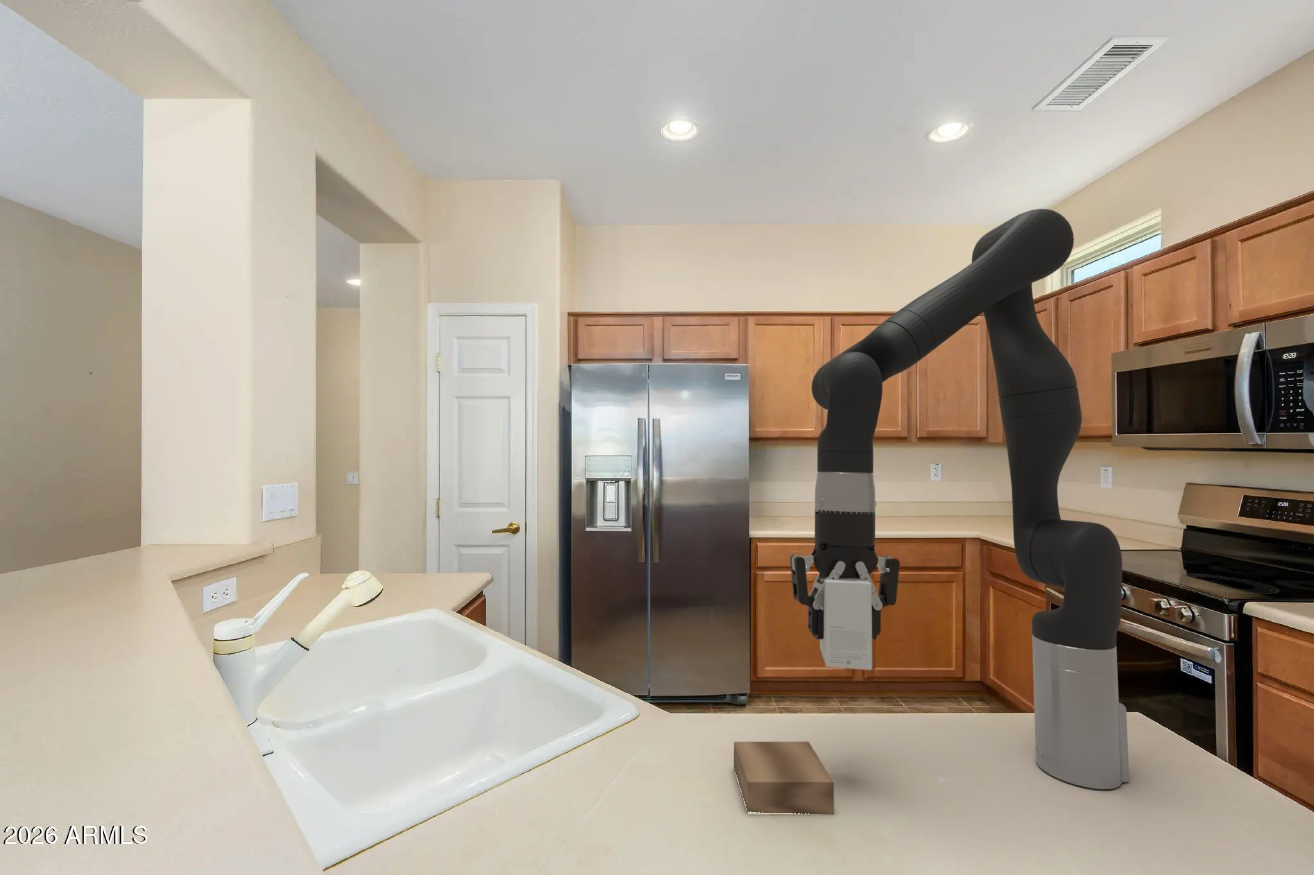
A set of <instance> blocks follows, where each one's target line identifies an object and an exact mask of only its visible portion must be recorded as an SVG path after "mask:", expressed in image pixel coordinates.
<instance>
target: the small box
mask: <svg viewBox="0 0 1314 875" xmlns="http://www.w3.org/2000/svg"><path fill="white" fill-rule="evenodd" d="M823 583H825V587H824V604H823V605H822V607H821V609H822V610H823V611H824V621H823V639H819V649H820V652H821V655H822V658H823V661H824V665H825V668H838V669H839V668H840V669H852V670H863V671H864V670H865V671H872V670H873V640H872V584H871V583H870V582H869V581H868V580H866V579H865V580H863V579H859V578H839V579H834V580H826V579H825V578H823Z"/></svg>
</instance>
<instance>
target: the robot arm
mask: <svg viewBox="0 0 1314 875" xmlns="http://www.w3.org/2000/svg"><path fill="white" fill-rule="evenodd" d="M1074 238H1075V237H1074V232H1073V227H1072V226H1071V224H1070V222H1069V221H1068V220H1067V218H1066V217H1065V216H1063V215H1062V214H1060V212H1057V211H1055V210H1052V209H1049V208H1037V209H1036V208H1035V209H1030V210H1028V211H1025V212H1022V213H1019V214H1017V215H1015V216H1013V217H1012V218H1010V219H1008V220H1006V221H1005V222H1003V223H1001V224H1000V225H998V226H996V227H994V228H993V229H991V230H990V231H988V232H986V233H984V234H983V235H982V237H980V238H979V239H978V241H977V242H976V243H975V245H974V248H973V251H972V253H971V263H969V265H967V266H966V267H964V268H962V270H960V271H959V272H957V273H955V274H954V275H952V276H950V277H949V278H947V279H946V280H944V281H942V282H941V283H939V284H938V285H936V286H934V287H933V288H931V289H929V290H927V291H926V292H924V293H923V294H921V295H920V296H918V297H916V298H915V299H914V300H912V301H910V302H909V303H907V304H906V305H904V306H903V307H902V308H900V309H899V310H898V311H896V312H895V313H893V314H892V315H891V316H889V317H888V318H887V319H885V320H884V321H883V322H881V323H880V324H878V326H876V328H874V329H873V330H872V331H871V332H870V333H869V334H868V335H866V336H865V337H864V338H862V339H861V340H860V341H858V342H856V343H855V344H853V345H851V346H850V347H848V348H847V349H845V350H844V351H842V352H841V353H839V354H838V355H836V356H834V357H833V358H832V359H830V360H829V361H827V362H826V363H824V364H823V365H821V367H819V368H818V370H817V371H816V373H815V374H814V375H813V379H812V381H811V394H812V397H813V399H814V401H815V402H816V403H817V405H819V407H821V408H823V409H824V410H827V416H826V423H825V427H824V428H823V430H822V431H821V432H820V433H819V436H818V440H817V446H816V447H817V448H816V449H817V450H816V452H817V453H816V454H817V457H816V458H817V460H816V461H817V462H816V463H817V464H816V465H817V466H816V467H817V468H816V470H817V471H816V472H817V473H816V481H815V488H814V548H813V551H812V553H811V554H808V555H807V554H806V555H797V554H792V555H791V556H790V557H789V563H790V573H791V574H790V575H791V583H792V584H791V586H792V595H793V596H792V597H793V599H794V601H797V602H798V603H799V604H801V605H802V606H803V605H805V606H806V607H807V629H808V631H809V633H810V634H812V637H813V638H814V639H816V640H820V639H823V621H824V611H823V610H822V609H821V607H822V605H823V604H824V587H825V583H823V578H825V579H826V580H834V579H839V578H859V579H863V580H865V579H866V580H868V581H869V582H870V583H871V584H872V641H873V640H874V641H875V640H877V638H878V636H879V635H881V632H882V628H881V627H882V618H881V617H882V616H881V614H882V611H883V608H884V607H887V606H894V605H895V604H896V603H897V595H898V584H899V574H900V564H901V562H900V560H899V558H895V557H891V556H889V555H885V556H878V555H877V553H876V550H875V545H876V507H877V501H876V487H875V480H874V443H873V442H874V438H875V437H874V436H875V433H876V430H877V424H878V421H879V415H880V410H881V404H882V397H883V388H884V386H883V383H884V382H885V381H887V380H888V379H891V377H893V376H896V375H899V374H900V373H902V372H904V371H907V370H908V369H909V368H912V367H914V365H916V364H917V363H918V362H920V361H921V360H922V359H924V357H926V356H927V355H929V354H930V353H932V352H933V351H934V350H935V349H937V348H939V347H940V346H941V345H942V344H943V343H945V342H946V341H948V340H949V339H950V338H951V337H952V336H953V335H955V334H956V333H958V332H959V331H960V330H961V329H963V328H964V327H965V326H966V325H968V324H969V323H970V322H972V321H973V320H974V319H976V318H977V317H978V316H981V314H983V316H984V320H985V322H986V323H985V324H986V328H987V332H988V337H989V344H990V350H991V355H992V360H993V361H992V362H993V366H994V371H995V372H994V373H995V377H996V386H997V397H998V403H999V408H1000V416H1001V422H1002V427H1003V432H1004V438H1005V445H1006V449H1007V450H1006V451H1007V458H1008V466H1009V467H1008V468H1009V475H1010V484H1011V486H1010V487H1011V504H1012V529H1013V530H1012V531H1013V532H1012V533H1013V535H1012V536H1013V544H1014V546H1013V547H1014V552H1015V558H1016V561H1017V563H1018V566H1019V567H1020V570H1022V573H1023V574H1024V575H1025V576H1026V577H1028V579H1030V580H1032V581H1035V582H1037V583H1040V584H1043V585H1049V586H1055V587H1059V588H1063V599H1062V604H1061V605H1060V606H1059V607H1057V608H1055V609H1054V608H1053V609H1047V610H1041V611H1040V610H1039V611H1037V612H1035V613H1034V614H1033V615H1032V617H1031V639H1032V640H1031V641H1032V642H1031V643H1032V668H1033V669H1032V673H1033V674H1032V675H1033V703H1034V705H1033V708H1034V741H1035V742H1034V743H1035V746H1034V747H1035V748H1034V749H1035V763H1036V764H1037V766H1038V767H1039V768H1040V769H1041V770H1042V771H1044V772H1046V773H1047V774H1049V775H1050V776H1052V777H1054V778H1056V779H1059V780H1061V781H1063V782H1066V783H1069V784H1072V785H1076V786H1079V787H1083V788H1088V789H1096V790H1111V789H1112V790H1113V789H1118V787H1120V786H1121V785H1122V783H1130V768H1129V767H1130V766H1129V745H1128V744H1129V742H1128V720H1127V718H1128V717H1127V708H1126V706H1125V705H1124V704H1123V703H1121V702H1119V681H1118V679H1119V678H1118V677H1119V676H1118V674H1119V673H1118V661H1117V660H1118V652H1117V633H1118V631H1119V627H1120V624H1121V620H1122V595H1123V594H1122V592H1123V590H1122V589H1123V557H1122V551H1121V550H1122V549H1121V546H1120V543H1119V540H1118V538H1117V536H1116V535H1115V534H1114V532H1113V531H1112V530H1111V529H1110V528H1109V527H1107V526H1105V525H1104V524H1101V523H1098V522H1090V521H1082V520H1081V521H1080V520H1070V519H1068V520H1067V519H1062V518H1061V514H1060V507H1059V500H1058V499H1059V497H1058V494H1059V493H1058V487H1059V486H1058V485H1059V479H1060V475H1061V472H1062V470H1063V468H1064V467H1065V466H1064V465H1065V463H1066V461H1067V460H1068V457H1069V456H1070V454H1071V452H1072V449H1073V447H1074V446H1075V443H1076V441H1077V438H1078V437H1079V434H1080V432H1081V431H1080V430H1081V429H1082V424H1083V421H1082V420H1083V417H1082V409H1081V408H1082V407H1081V400H1080V395H1079V388H1078V383H1077V379H1076V374H1075V372H1074V370H1073V368H1072V366H1071V364H1070V363H1069V361H1068V359H1067V358H1066V356H1064V354H1063V353H1062V352H1061V351H1060V349H1059V348H1058V346H1056V345H1055V343H1054V342H1053V341H1052V340H1051V338H1050V337H1049V336H1048V335H1047V333H1046V331H1045V330H1044V329H1043V327H1042V325H1041V324H1040V321H1039V319H1038V316H1037V312H1036V307H1035V300H1034V293H1033V283H1036V282H1037V281H1040V280H1043V279H1045V278H1047V277H1049V276H1051V275H1052V274H1054V273H1055V272H1057V271H1058V270H1060V269H1061V267H1063V265H1064V264H1065V263H1066V262H1067V261H1068V259H1069V258H1070V256H1071V254H1072V251H1073V248H1074V242H1075V239H1074ZM812 565H813V566H814V567H815V569H816V570H817V571H818V573H817V576H816V577H815V580H814V581H813V584H812V588H811V590H810V592H809V591H808V589H809V588H808V581H807V580H808V579H807V573H809V572H810V568H811V566H812ZM876 567H877V571H878V572H879V573H880V576H879V577H880V578H879V585H878V586H879V587H878V590H877V588H876V586H875V584H874V582H873V580H872V577H871V576H870V575H871V574H872V572H873V571H874V570H875V569H876ZM877 591H878V592H877ZM808 593H809V594H808Z"/></svg>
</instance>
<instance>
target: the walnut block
mask: <svg viewBox="0 0 1314 875" xmlns="http://www.w3.org/2000/svg"><path fill="white" fill-rule="evenodd" d="M825 767H826V766H825V765H824V764H823V763H822V761H821V759H820V758H819V756H818V754H817V752H816V751H815V749H814V748H813V746H812V745H811V743H810V742H809V741H733V769H734V768H735V772H736V775H737V778H738V781H739V785H740V788H741V791H742V794H743V798H744V801H745V804H746V808H747V811H748V812H750V811H751V812H757V813H758V812H760V813H762V812H763V813H793V814H794V813H796V814H798V813H800V814H801V813H802V814H805V813H806V814H808V813H809V814H826V815H825V816H834V815H835V790H834V789H835V788H834V787H835V786H834V785H835V783H834V781H833V778H831V776H830V774H829V772H828V770H827V768H825ZM739 785H738V786H739ZM743 798H742V799H743ZM746 808H745V809H746ZM747 811H746V812H747ZM827 814H829V815H827ZM830 814H831V815H830ZM833 814H834V815H833Z"/></svg>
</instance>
